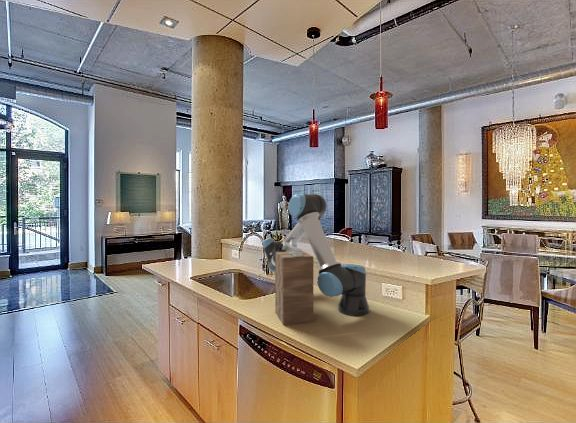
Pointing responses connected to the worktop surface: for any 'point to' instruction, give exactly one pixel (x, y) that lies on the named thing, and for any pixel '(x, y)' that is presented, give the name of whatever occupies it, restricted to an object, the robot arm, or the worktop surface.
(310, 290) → the walnut stand
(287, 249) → the metal bar
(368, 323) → the worktop surface
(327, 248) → the robot arm
